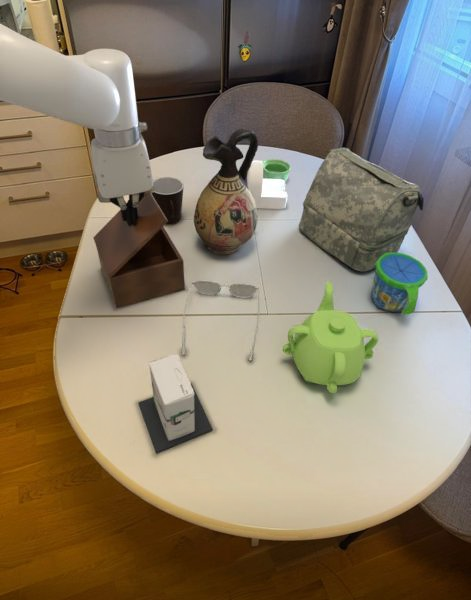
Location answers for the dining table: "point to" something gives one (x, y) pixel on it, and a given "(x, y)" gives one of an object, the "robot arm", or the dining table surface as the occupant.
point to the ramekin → (276, 169)
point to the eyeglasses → (214, 287)
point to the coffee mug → (169, 197)
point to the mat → (158, 431)
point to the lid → (128, 234)
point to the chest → (147, 273)
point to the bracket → (266, 188)
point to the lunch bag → (358, 209)
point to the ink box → (173, 396)
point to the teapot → (330, 345)
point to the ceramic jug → (227, 196)
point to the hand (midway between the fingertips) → (130, 221)
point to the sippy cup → (398, 282)
